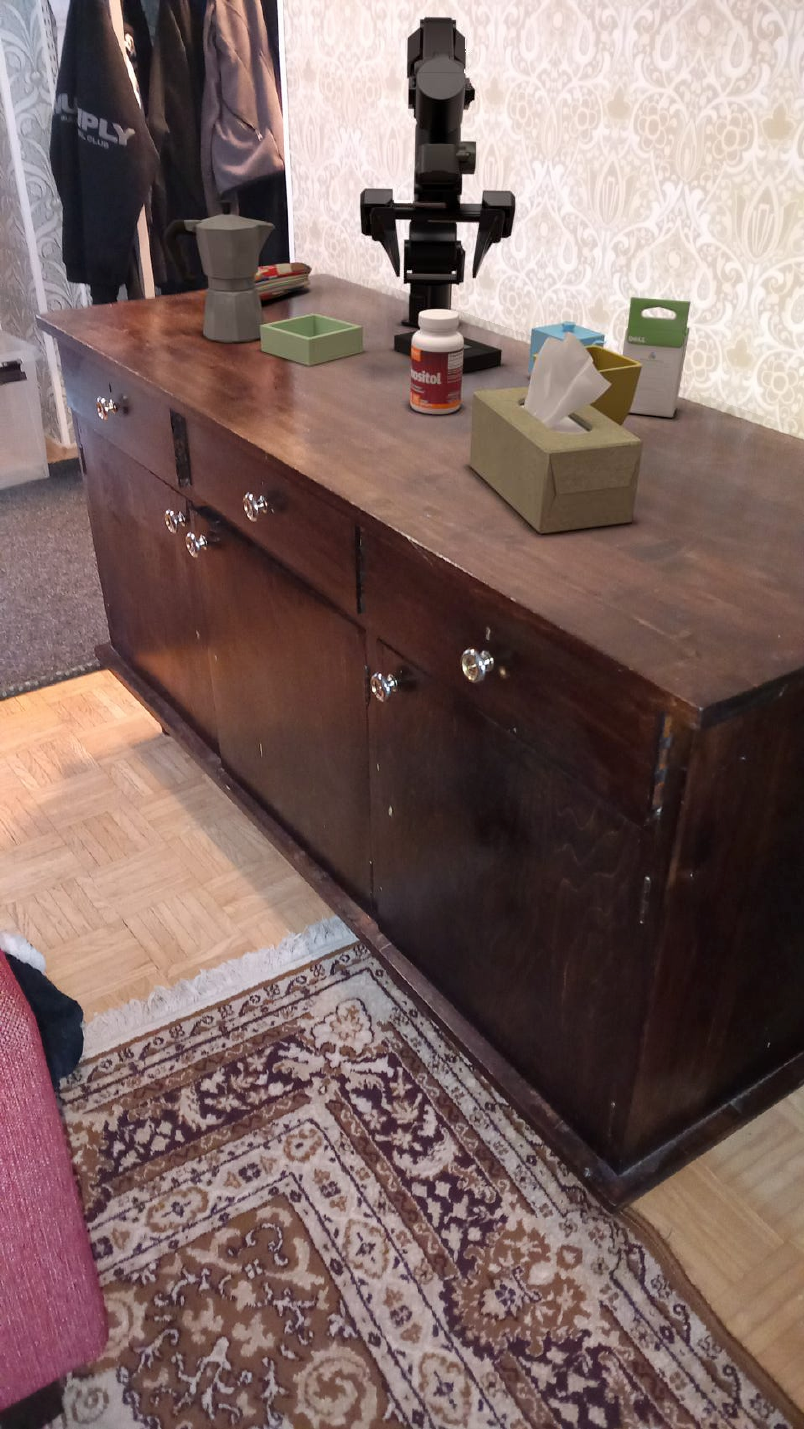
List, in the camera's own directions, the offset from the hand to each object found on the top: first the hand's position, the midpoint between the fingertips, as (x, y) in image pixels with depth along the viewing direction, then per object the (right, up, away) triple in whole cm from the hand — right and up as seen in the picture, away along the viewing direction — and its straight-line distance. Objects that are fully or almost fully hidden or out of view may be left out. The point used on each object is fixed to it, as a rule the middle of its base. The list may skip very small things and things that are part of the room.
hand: (436, 275), depth 129 cm
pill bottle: (0, -16, +1) cm, 16 cm away
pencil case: (-26, +15, +46) cm, 55 cm away
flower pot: (+16, -22, -8) cm, 28 cm away
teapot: (+17, -10, +10) cm, 22 cm away
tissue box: (+10, -31, -21) cm, 39 cm away
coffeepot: (-30, +2, +27) cm, 40 cm away
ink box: (+26, -16, +1) cm, 30 cm away
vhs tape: (+2, -4, +19) cm, 20 cm away
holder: (-17, -2, +20) cm, 27 cm away
